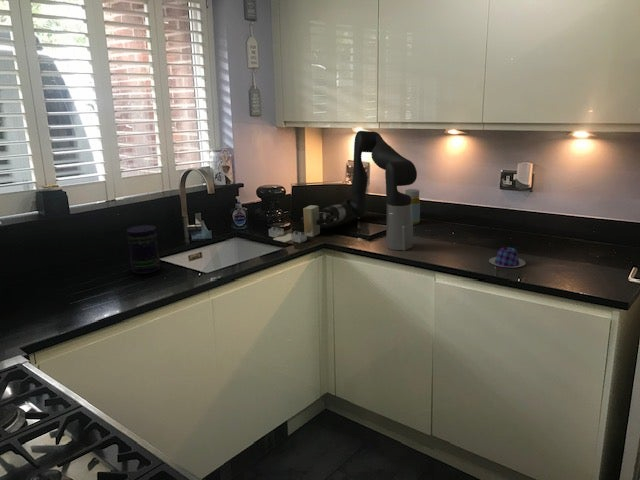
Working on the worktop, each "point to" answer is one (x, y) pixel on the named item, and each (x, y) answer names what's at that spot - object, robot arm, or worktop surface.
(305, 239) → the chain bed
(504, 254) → the blue plaid hat
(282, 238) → the seat pad
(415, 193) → the bottle
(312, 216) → the skincare box
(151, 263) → the storage jar
